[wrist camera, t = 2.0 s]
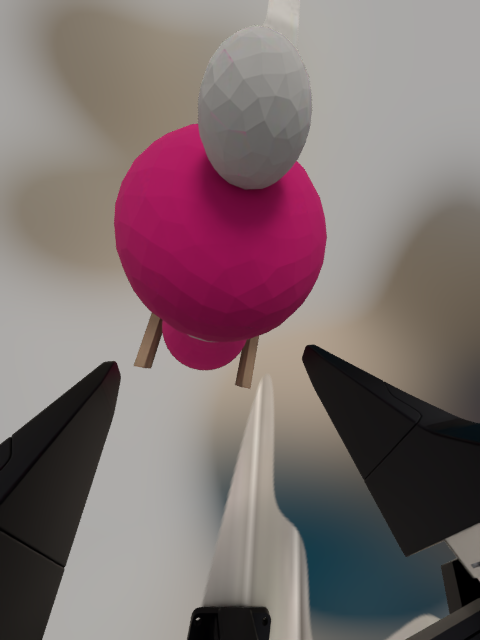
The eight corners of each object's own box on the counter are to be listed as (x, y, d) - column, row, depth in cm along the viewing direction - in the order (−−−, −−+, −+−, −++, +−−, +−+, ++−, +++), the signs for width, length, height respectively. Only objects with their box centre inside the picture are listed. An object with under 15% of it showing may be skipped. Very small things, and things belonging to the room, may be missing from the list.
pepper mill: (248, 324, 23) (513, 78, 4) (217, 383, 20) (509, 522, 1) (193, 293, 22) (176, -164, 3) (155, 349, 20) (-654, -129, 1)
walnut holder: (242, 386, 21) (250, 388, 18) (142, 366, 19) (133, 365, 16) (257, 305, 24) (265, 295, 21) (170, 281, 22) (167, 268, 19)
